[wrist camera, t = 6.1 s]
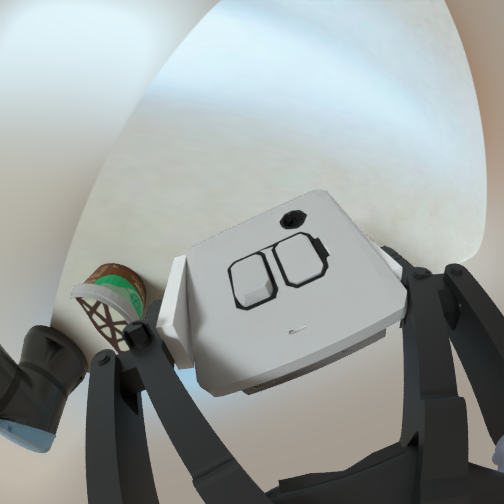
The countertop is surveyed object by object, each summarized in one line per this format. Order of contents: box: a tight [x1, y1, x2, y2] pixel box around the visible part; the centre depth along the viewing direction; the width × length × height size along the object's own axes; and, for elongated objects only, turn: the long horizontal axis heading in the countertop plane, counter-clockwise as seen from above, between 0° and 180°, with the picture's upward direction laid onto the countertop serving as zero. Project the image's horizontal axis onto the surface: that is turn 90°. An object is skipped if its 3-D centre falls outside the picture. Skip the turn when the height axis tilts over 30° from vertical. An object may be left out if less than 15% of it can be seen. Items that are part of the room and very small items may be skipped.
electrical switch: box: [186, 190, 407, 397], centre depth 14 cm, size 9×5×9 cm, turn 114°
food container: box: [70, 263, 146, 354], centre depth 34 cm, size 12×6×10 cm, turn 20°
